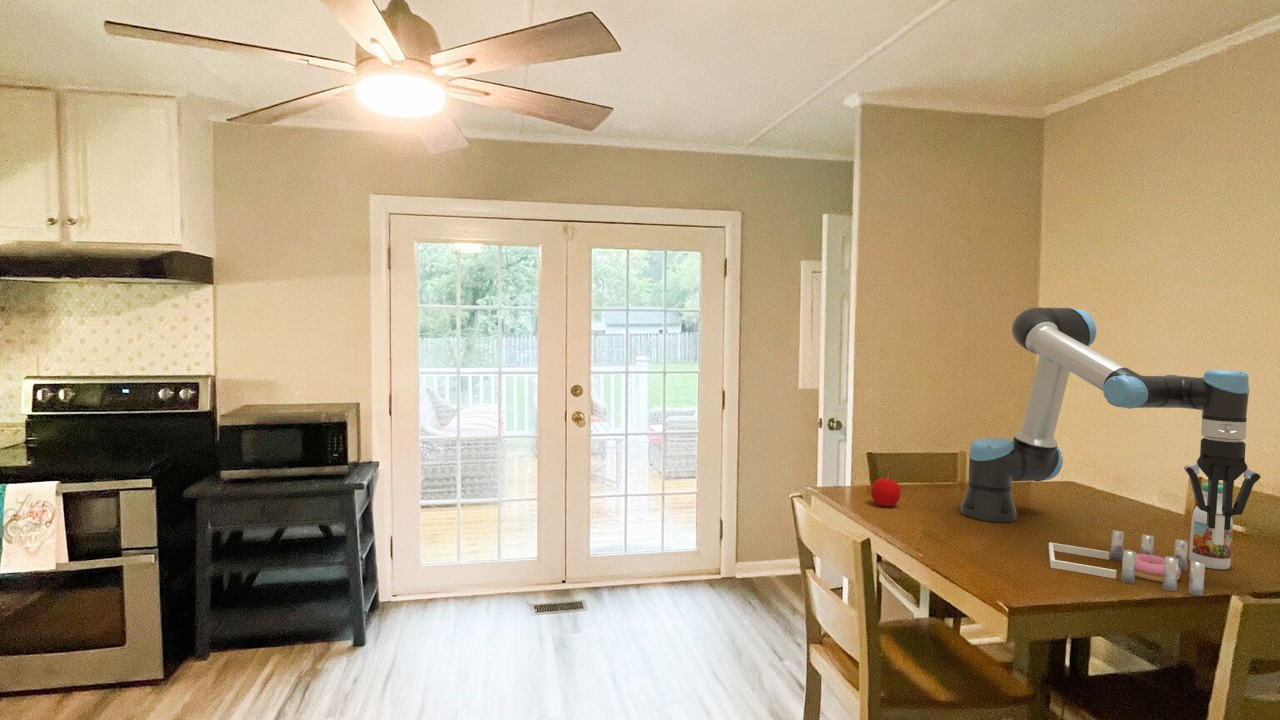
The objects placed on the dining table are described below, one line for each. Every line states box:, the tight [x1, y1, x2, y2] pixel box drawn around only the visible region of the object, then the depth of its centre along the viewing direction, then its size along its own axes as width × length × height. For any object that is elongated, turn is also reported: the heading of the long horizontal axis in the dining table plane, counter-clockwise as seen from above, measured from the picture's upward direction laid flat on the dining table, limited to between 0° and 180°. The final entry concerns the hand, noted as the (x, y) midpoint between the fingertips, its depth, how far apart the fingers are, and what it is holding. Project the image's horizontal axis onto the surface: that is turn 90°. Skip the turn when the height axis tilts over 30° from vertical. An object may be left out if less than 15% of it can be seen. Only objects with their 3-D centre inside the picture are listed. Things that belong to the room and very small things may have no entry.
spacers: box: [1109, 529, 1206, 597], centre depth 154 cm, size 15×19×7 cm
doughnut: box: [1135, 553, 1182, 583], centre depth 154 cm, size 11×11×4 cm
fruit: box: [870, 474, 902, 508], centre depth 210 cm, size 9×9×10 cm
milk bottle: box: [1188, 482, 1234, 571], centre depth 161 cm, size 8×8×20 cm
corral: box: [1048, 542, 1117, 579], centre depth 161 cm, size 13×16×2 cm
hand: (1217, 543), depth 147 cm, fingers closed
